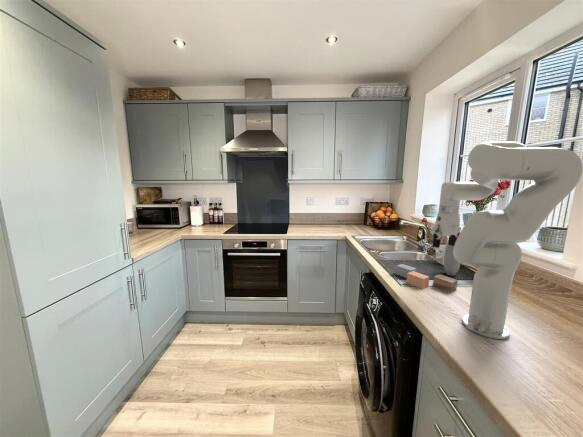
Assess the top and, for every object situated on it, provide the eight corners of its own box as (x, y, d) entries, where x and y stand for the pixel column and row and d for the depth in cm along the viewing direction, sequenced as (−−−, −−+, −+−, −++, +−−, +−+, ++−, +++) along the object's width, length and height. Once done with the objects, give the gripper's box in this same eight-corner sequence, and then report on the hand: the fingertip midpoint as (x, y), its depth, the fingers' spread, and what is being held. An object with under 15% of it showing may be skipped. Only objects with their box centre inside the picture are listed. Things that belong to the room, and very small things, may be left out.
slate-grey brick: (410, 279, 119) (411, 270, 118) (395, 274, 126) (396, 265, 125) (415, 277, 122) (416, 268, 121) (400, 272, 128) (401, 263, 128)
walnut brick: (450, 293, 105) (452, 282, 105) (432, 286, 112) (433, 276, 111) (456, 290, 108) (457, 280, 107) (438, 283, 115) (439, 274, 114)
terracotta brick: (422, 289, 109) (423, 279, 108) (406, 282, 116) (407, 273, 115) (428, 286, 111) (429, 276, 111) (412, 280, 118) (413, 271, 117)
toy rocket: (463, 277, 122) (470, 230, 118) (447, 276, 123) (453, 230, 119) (454, 271, 130) (460, 227, 126) (439, 271, 130) (444, 227, 126)
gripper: (441, 211, 100) (436, 250, 103) (470, 210, 105) (465, 247, 108) (426, 209, 107) (422, 245, 110) (454, 208, 112) (450, 242, 115)
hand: (443, 246), depth 109 cm, fingers open, 9 cm apart
